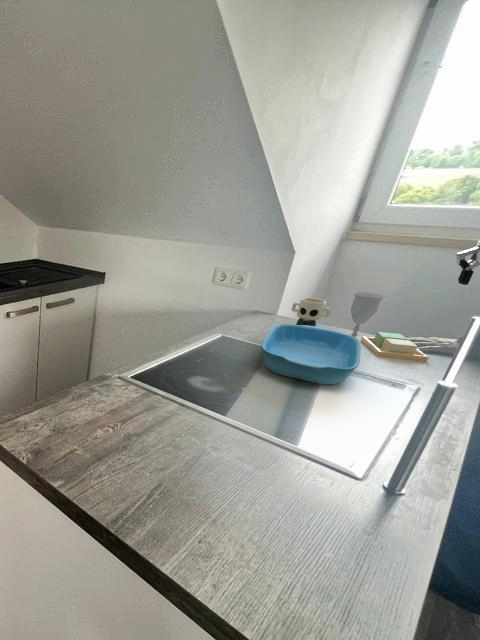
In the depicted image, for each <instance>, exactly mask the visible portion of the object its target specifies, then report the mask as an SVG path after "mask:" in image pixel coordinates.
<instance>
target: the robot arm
mask: <svg viewBox="0 0 480 640" xmlns="http://www.w3.org/2000/svg"><path fill="white" fill-rule="evenodd" d="M468 256H470V260H468V261H467V260H466V257H468ZM455 257H456V262H457V264H458V265H459V267H460V269H462V270H461V272H460V274H459V276H458V278H457V281H458V284H459V285H463V286H467V285H469V283H470V281H471V280H472V277H473V274H474V270H473V269H475V268H477V267H479V266H480V239H479V240H478V241H477V244H476V246H475V247H473V248H470V249H466V250H462V251H459V252H457V253H456V254H455Z"/></svg>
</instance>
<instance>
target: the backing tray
mask: <svg viewBox="0 0 480 640" xmlns="http://www.w3.org/2000/svg"><path fill="white" fill-rule="evenodd" d="M374 339H375V336H374V337H373V336H364V335H362V336H361V339H360V341H361V342H362V343H363V344H364V345H365V346H366V347H367V348H368V349H369V350H370V351H371V352H372V353H373V354H374V355H376V357H381V358H390V359H399V360H405V361H406V360H407V361H416V362H424V363H426V362H428V361H429V358H430V356H428V355H427V354H425V353H424V352H423V351H421V350H420V349H419V348H417V349H416V351H415V353H414V355H412V354H403V353H394V352H385V351H382V350H381V348H378V347H377V346H376V345H375V344H373V341H374Z"/></svg>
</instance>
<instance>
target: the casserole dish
mask: <svg viewBox="0 0 480 640" xmlns="http://www.w3.org/2000/svg"><path fill="white" fill-rule="evenodd" d="M261 350H262V358H263V363H264V366H265V367H266V368H267V369H268V370H269V371H270V372H272V373H274V374H277V375H280V376H284V377H288V378H292V379H295V380H300V381H304V382H308V383H313V384H319V385H326V386H327V385H328V386H331V385H335V384H336V385H337V384H339V383H341V382H343V381H344V380H346V379H347V378H348V377H349V376H350V375H351V374H352V373H353V372H354V370H355V369H357V368H358V366H359V365H360V361H361V342H360V340H359V339H358V338H357V337H353V336H351V334H347V333H343V332H340V331H336V330H333V329H329V328H325V327H320V326H316V327H315V326H307V325H296V324H288V323H285V324H283V323H282V324H278V325H275V326H274V327H272V329H271V330H270V332H269V333H268V335H266V337H265V339H263V342H262V344H261Z"/></svg>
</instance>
